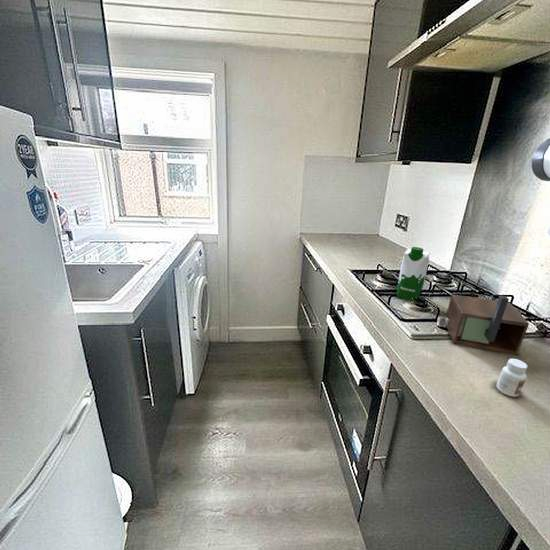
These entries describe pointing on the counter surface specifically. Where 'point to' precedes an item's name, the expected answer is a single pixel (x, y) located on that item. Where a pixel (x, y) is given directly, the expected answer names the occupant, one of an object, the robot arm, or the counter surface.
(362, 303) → the counter surface
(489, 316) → the cupboard
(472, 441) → the counter surface
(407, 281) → the milk carton
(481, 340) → the sliding door
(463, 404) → the counter surface
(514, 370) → the pill bottle
